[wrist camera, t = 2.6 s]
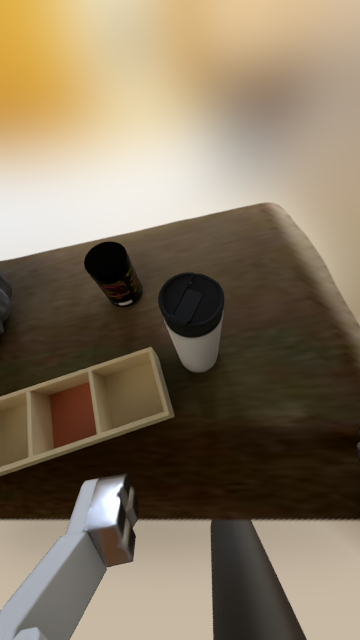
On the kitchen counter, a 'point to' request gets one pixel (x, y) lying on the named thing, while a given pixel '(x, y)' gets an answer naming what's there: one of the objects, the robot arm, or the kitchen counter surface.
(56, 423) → the organiser
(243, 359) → the kitchen counter surface
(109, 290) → the supplement container
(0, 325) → the bundt pan
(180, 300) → the travel mug
